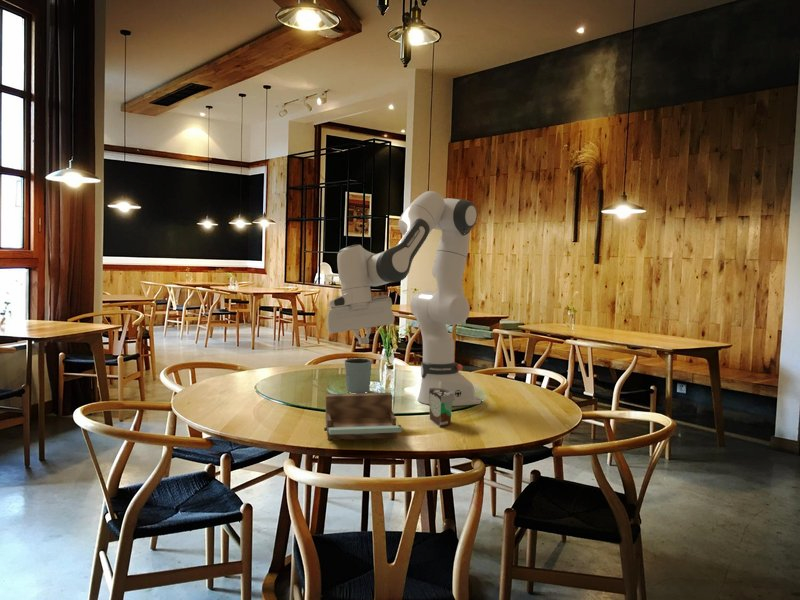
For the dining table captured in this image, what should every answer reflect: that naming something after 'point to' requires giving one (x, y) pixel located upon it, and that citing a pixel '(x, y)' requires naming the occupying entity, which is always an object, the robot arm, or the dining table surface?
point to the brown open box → (359, 413)
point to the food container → (440, 406)
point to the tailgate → (364, 430)
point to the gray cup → (358, 375)
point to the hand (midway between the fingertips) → (364, 343)
